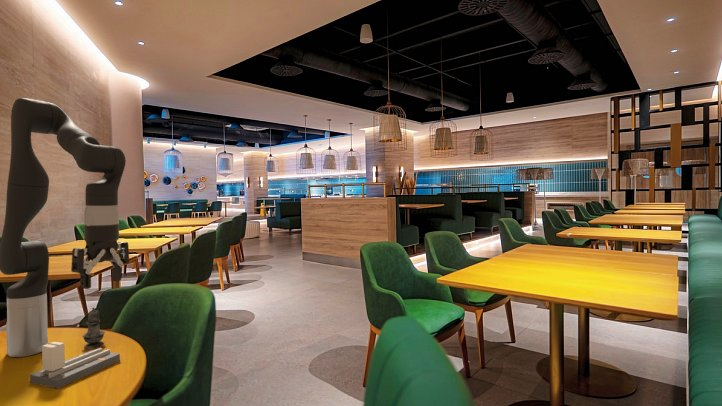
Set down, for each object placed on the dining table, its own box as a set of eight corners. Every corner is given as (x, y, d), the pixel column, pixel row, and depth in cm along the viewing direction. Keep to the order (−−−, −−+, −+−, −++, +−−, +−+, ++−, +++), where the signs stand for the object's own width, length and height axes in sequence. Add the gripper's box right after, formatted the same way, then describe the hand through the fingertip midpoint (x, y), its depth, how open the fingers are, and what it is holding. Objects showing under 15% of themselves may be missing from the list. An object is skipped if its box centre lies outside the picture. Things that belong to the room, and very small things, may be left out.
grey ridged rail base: (29, 382, 100) (29, 370, 100) (94, 356, 116) (94, 345, 116) (57, 388, 97) (57, 376, 97) (119, 360, 113) (119, 350, 113)
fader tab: (42, 373, 100) (42, 345, 100) (55, 368, 103) (54, 341, 103) (52, 375, 99) (52, 347, 99) (64, 370, 102) (64, 342, 102)
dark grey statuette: (93, 349, 121) (93, 310, 121) (77, 348, 122) (77, 309, 122) (109, 342, 127) (109, 305, 127) (94, 341, 128) (93, 304, 128)
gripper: (115, 220, 111) (115, 277, 111) (63, 224, 97) (63, 289, 98) (136, 221, 108) (136, 280, 109) (86, 225, 95) (86, 292, 95)
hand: (102, 284), depth 103 cm, fingers open, 8 cm apart
